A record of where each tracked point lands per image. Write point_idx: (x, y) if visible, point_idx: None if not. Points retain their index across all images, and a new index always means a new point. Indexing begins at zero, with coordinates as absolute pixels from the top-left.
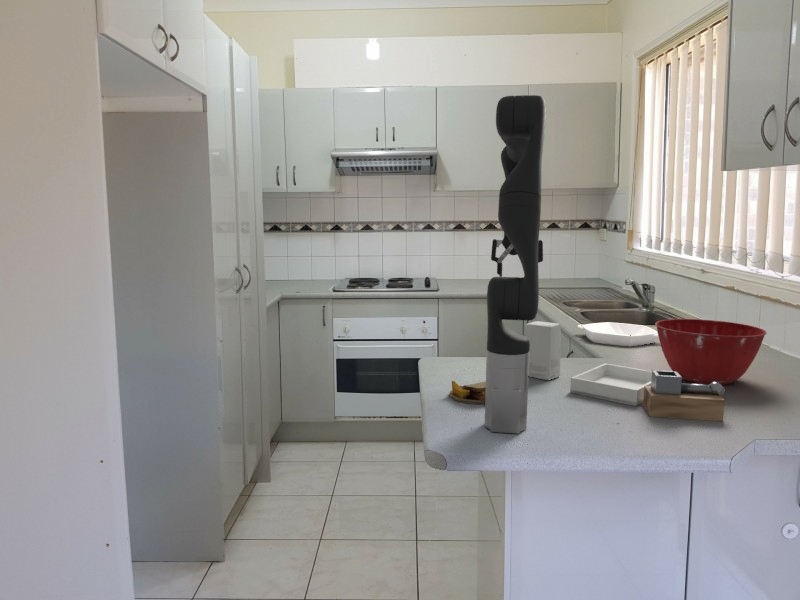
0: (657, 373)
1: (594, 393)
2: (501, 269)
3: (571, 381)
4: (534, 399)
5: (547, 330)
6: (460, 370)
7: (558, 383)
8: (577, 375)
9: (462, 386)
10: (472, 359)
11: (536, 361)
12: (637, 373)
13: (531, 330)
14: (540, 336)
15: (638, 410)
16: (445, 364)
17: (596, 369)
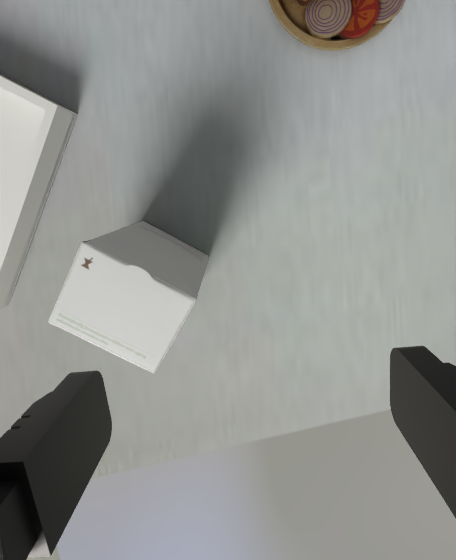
0: None
1: (5, 77)
2: (436, 380)
3: (60, 106)
4: (164, 5)
5: (100, 243)
6: (392, 268)
7: (116, 203)
8: (42, 140)
9: (379, 19)
10: (364, 398)
11: (169, 243)
12: None
13: (172, 275)
14: (138, 251)
15: None
16: (439, 324)
17: (1, 244)
